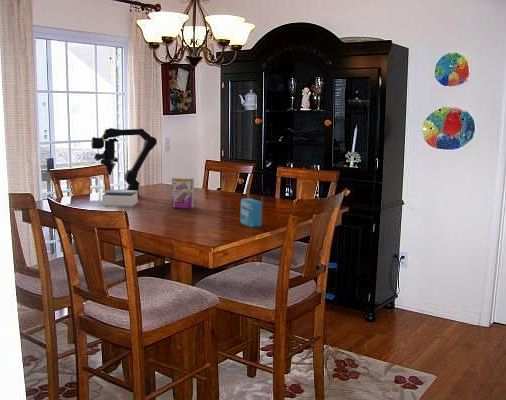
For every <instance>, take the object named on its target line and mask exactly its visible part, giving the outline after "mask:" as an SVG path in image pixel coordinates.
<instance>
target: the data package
mask: <svg viewBox="0 0 506 400" xmlns="http://www.w3.org/2000/svg"><path fill="white" fill-rule="evenodd" d="M262 206H263V204H262V202H261V201H260V200H257V199H254V198H249V197H248V198H241V199H240V210H239V211H240V213H239V215H240V216H239V217H240V224H242V225H244V226H247V227H250V228H260V227H261V226H262V214H263V213H262V211H263V209H262V208H263V207H262Z"/></svg>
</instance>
